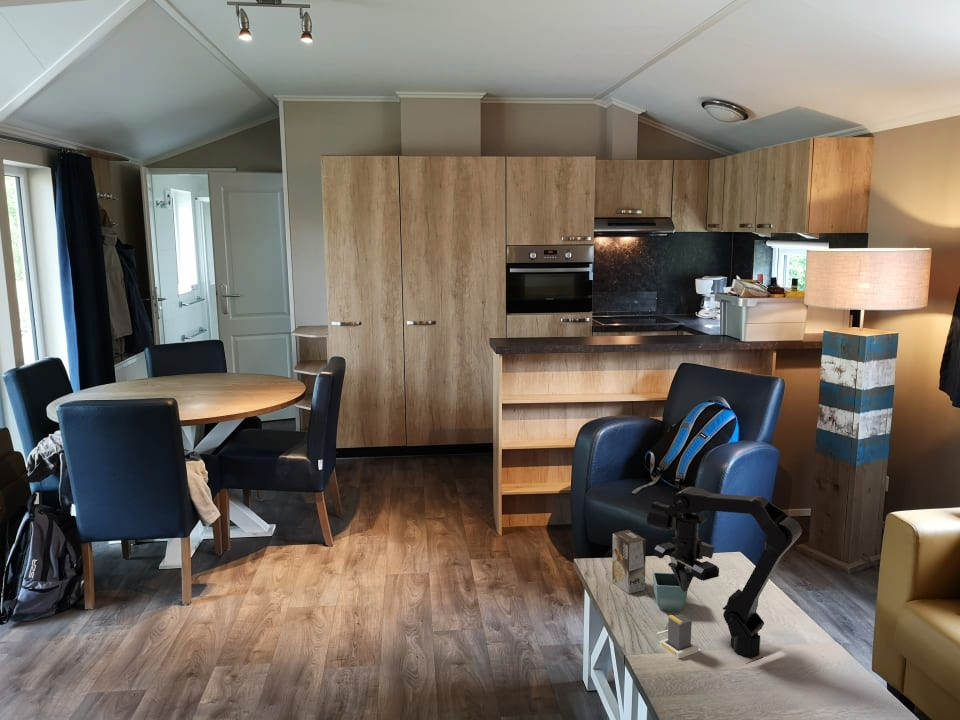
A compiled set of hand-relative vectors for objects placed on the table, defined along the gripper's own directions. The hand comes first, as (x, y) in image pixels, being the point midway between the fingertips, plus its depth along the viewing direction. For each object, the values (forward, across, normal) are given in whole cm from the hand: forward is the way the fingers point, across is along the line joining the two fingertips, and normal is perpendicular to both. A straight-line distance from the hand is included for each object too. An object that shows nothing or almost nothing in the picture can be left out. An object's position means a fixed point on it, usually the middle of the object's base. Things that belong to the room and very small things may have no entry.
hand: (684, 590), depth 203 cm
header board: (+12, -4, +7) cm, 14 cm away
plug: (+11, -7, +8) cm, 15 cm away
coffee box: (+12, +29, -5) cm, 32 cm away
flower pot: (+12, +12, -6) cm, 18 cm away
